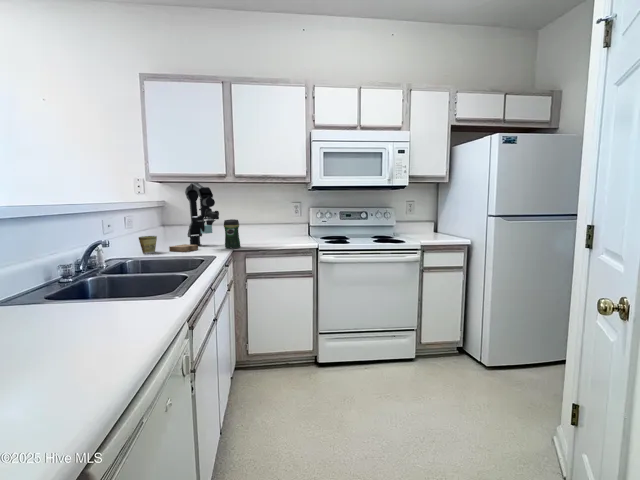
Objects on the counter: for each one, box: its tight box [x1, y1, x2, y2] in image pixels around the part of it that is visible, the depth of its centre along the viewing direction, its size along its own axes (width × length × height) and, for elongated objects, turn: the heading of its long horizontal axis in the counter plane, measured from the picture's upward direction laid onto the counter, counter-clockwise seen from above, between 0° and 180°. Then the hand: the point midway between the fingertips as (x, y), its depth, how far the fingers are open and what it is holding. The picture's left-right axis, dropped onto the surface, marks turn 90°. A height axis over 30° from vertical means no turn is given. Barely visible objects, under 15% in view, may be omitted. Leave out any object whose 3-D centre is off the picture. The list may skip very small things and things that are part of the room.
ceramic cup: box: [138, 235, 158, 254], centre depth 216 cm, size 13×10×10 cm
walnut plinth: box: [168, 243, 199, 253], centre depth 221 cm, size 12×12×3 cm
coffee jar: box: [223, 218, 241, 249], centre depth 228 cm, size 10×8×19 cm
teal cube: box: [201, 224, 213, 235], centre depth 225 cm, size 5×5×5 cm
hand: (206, 231), depth 225 cm, fingers closed on teal cube, 5 cm apart
